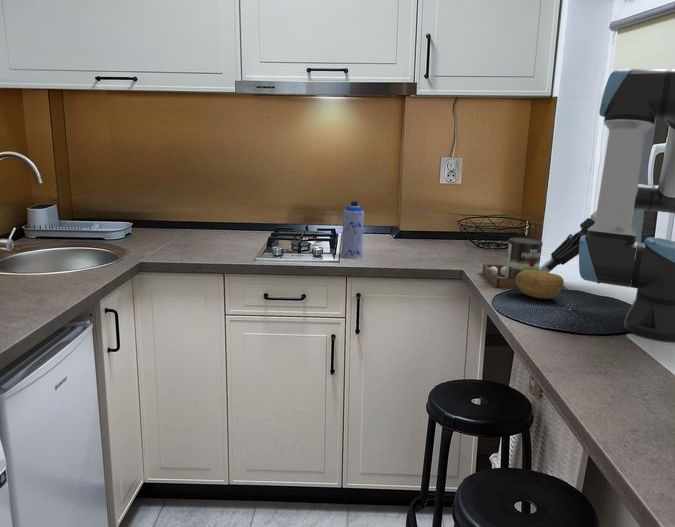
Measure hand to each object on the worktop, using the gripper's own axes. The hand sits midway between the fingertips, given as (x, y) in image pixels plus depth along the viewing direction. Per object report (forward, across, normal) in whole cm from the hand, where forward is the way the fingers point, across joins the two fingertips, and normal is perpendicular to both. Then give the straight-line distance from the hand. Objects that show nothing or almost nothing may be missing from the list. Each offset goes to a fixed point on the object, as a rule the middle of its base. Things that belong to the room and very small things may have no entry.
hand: (538, 274), depth 202 cm
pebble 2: (+8, +8, +4) cm, 12 cm away
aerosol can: (+44, +26, +40) cm, 65 cm away
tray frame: (+8, +2, +4) cm, 9 cm away
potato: (+6, -17, +2) cm, 18 cm away
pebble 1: (+11, +8, +7) cm, 15 cm away
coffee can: (+6, -2, +2) cm, 7 cm away
